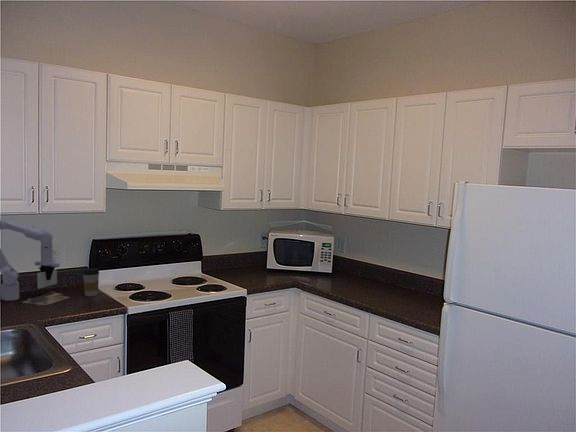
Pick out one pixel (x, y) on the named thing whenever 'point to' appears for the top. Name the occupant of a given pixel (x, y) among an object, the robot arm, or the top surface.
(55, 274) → the sheet
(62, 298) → the offcut lower
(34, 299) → the rack
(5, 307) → the top surface
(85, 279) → the coffee cup
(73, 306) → the top surface
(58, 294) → the offcut upper
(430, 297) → the top surface
